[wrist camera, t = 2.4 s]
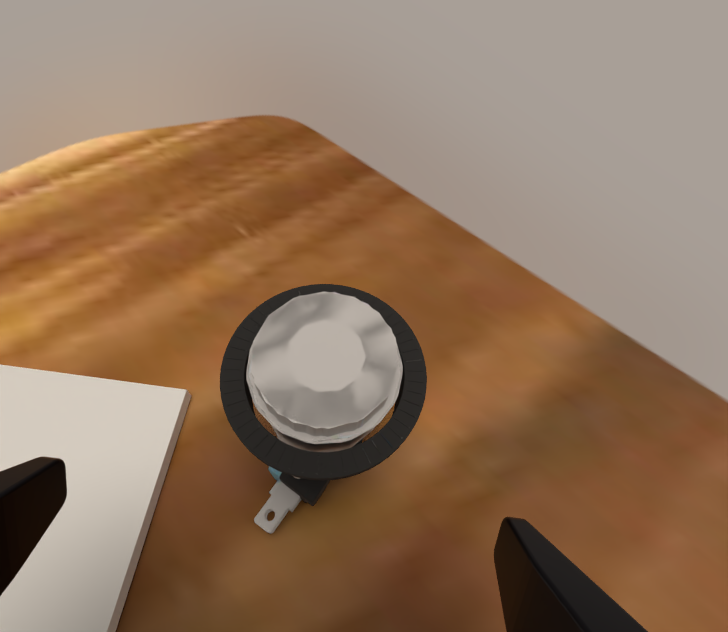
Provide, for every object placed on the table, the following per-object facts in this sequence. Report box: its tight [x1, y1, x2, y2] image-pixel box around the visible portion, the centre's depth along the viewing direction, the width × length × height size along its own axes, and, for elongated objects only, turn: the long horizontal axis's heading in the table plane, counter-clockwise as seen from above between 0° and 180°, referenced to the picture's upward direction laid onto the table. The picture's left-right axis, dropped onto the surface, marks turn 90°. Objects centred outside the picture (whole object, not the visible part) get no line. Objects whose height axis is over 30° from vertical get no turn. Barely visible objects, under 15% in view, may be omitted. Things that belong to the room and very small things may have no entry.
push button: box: [220, 284, 427, 533], centre depth 14 cm, size 7×5×10 cm
